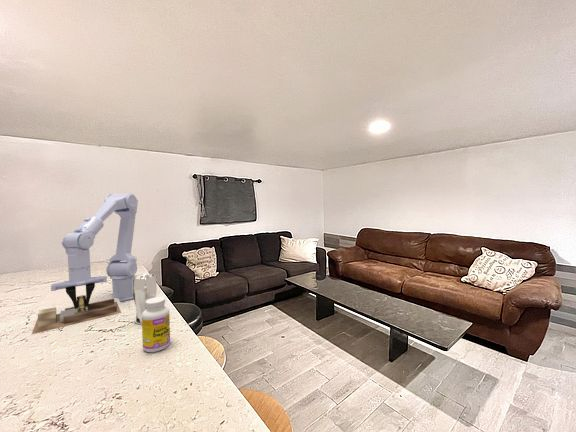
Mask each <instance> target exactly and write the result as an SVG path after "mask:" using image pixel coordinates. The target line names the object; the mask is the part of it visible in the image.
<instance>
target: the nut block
mask: <svg viewBox="0 0 576 432" xmlns="http://www.w3.org/2000/svg"><path fill="white" fill-rule="evenodd" d="M57 314H58V313H57V307H56V306H55V307H50V308H45V309H41V310H40V309H39V310H38V312H37V319H38V327H41V326H45V325H50V324H54V323H56V320H57Z"/></svg>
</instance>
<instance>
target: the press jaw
mask: <svg viewBox="0 0 576 432" xmlns="http://www.w3.org/2000/svg"><path fill="white" fill-rule="evenodd" d="M76 299H77V309H75V308H73V309H69V310H65V309H64V310H60V313H59V314H60V323H61V322H64V317H66V316H70V315H75V314H79V313H84V312H88V308H87V307H86V294H81V295H78V296H76Z"/></svg>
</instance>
